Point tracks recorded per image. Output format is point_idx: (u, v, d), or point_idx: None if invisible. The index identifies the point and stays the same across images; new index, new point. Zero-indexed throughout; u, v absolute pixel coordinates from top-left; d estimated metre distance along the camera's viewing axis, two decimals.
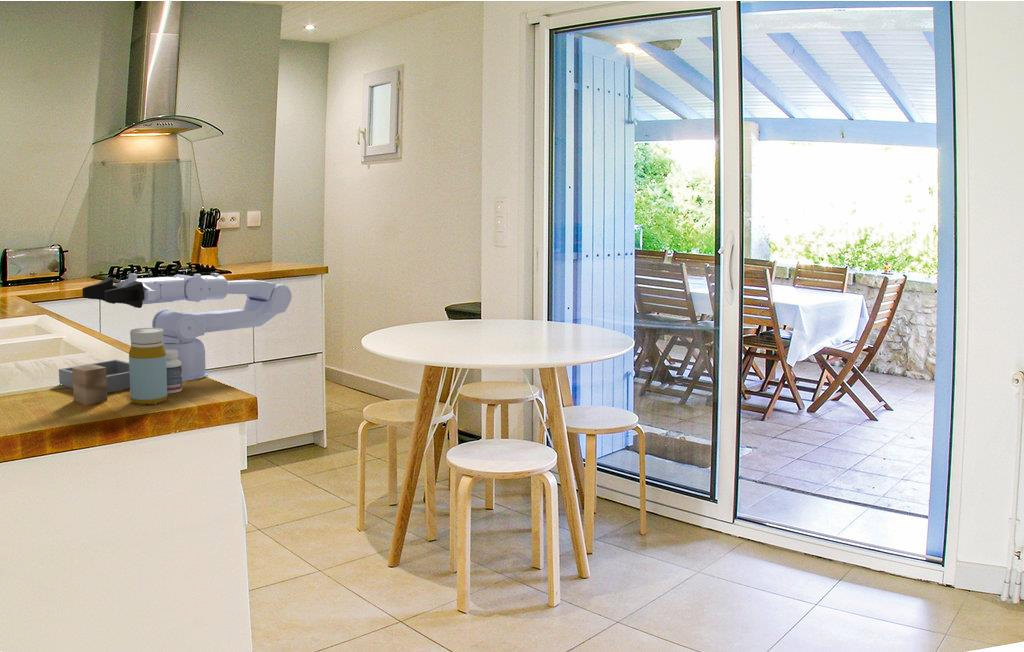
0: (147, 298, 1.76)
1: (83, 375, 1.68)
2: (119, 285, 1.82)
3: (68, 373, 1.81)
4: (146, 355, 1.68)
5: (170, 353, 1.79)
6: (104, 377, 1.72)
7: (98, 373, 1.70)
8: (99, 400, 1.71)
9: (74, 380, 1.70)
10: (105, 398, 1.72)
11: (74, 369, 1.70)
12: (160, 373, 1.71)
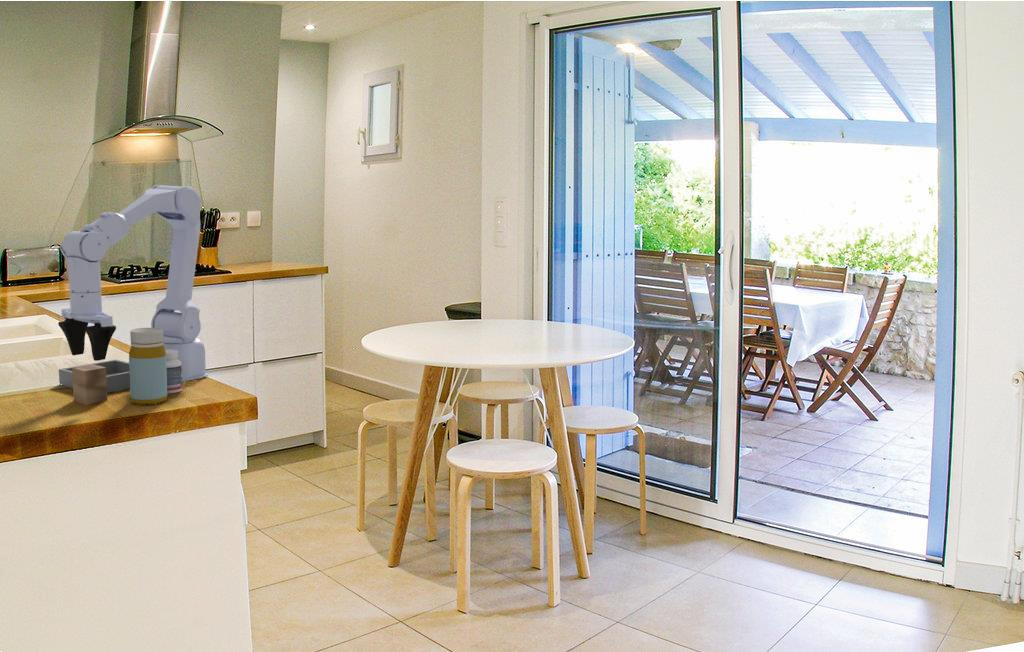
0: (110, 325, 1.66)
1: (83, 375, 1.68)
2: None
3: (68, 373, 1.81)
4: (146, 355, 1.68)
5: (170, 353, 1.79)
6: (104, 377, 1.72)
7: (98, 373, 1.70)
8: (99, 400, 1.71)
9: (73, 380, 1.70)
10: (105, 398, 1.72)
11: (74, 369, 1.70)
12: (160, 373, 1.71)
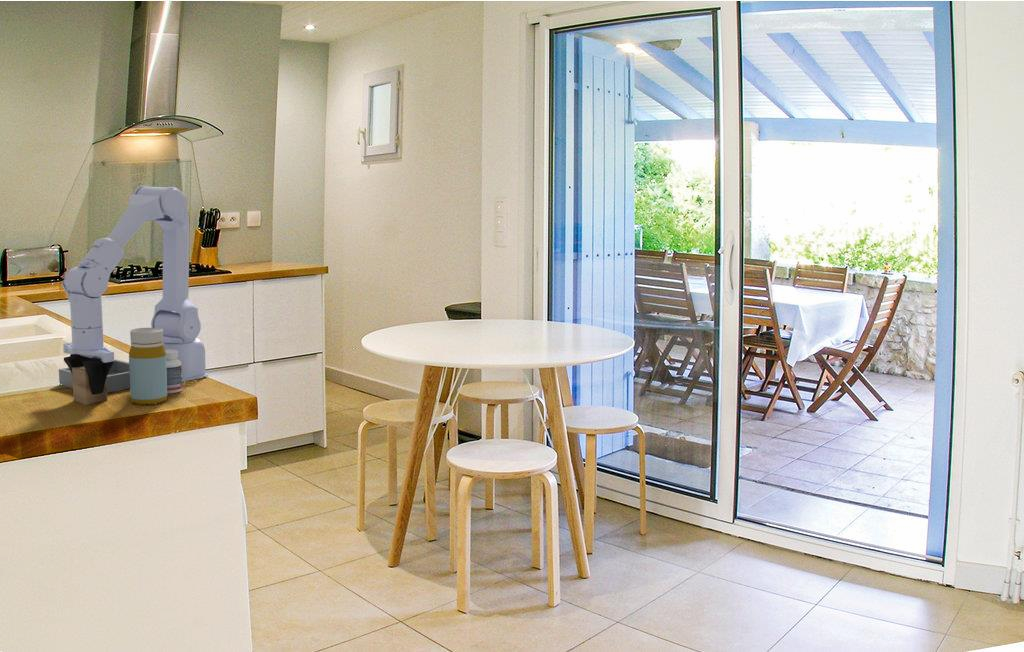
0: (112, 360, 1.67)
1: (83, 375, 1.68)
2: None
3: (68, 373, 1.81)
4: (146, 355, 1.68)
5: (170, 353, 1.79)
6: None
7: None
8: (99, 400, 1.71)
9: (73, 380, 1.70)
10: (105, 398, 1.72)
11: (74, 369, 1.70)
12: (160, 373, 1.71)
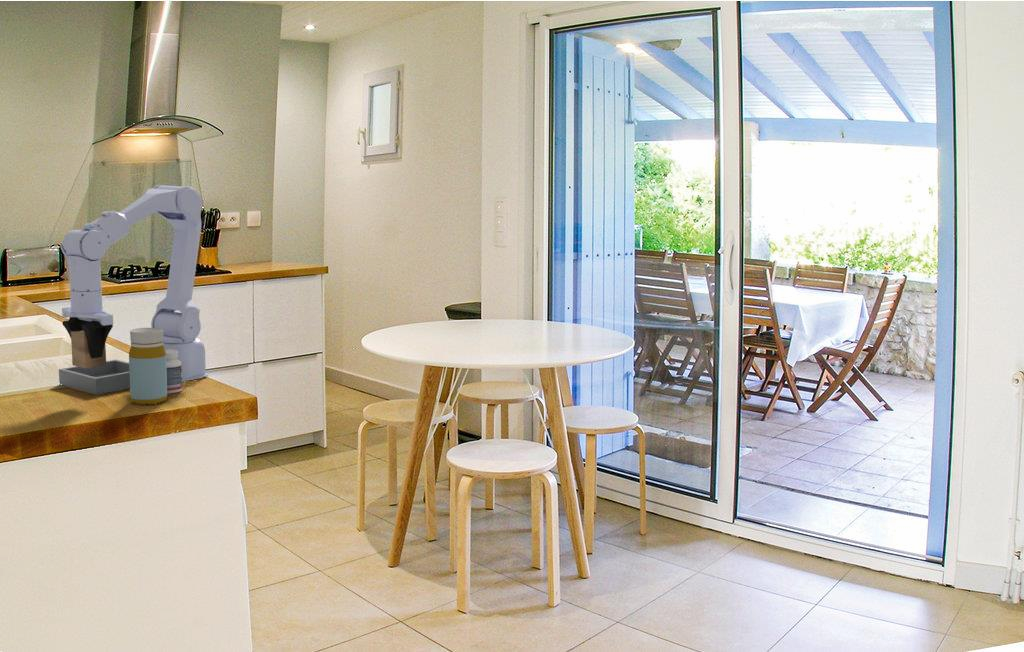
0: (111, 324, 1.66)
1: (82, 338, 1.67)
2: None
3: (68, 373, 1.81)
4: (146, 355, 1.68)
5: (170, 353, 1.79)
6: None
7: None
8: (98, 364, 1.70)
9: (72, 344, 1.69)
10: (104, 362, 1.71)
11: (73, 333, 1.69)
12: (160, 373, 1.71)
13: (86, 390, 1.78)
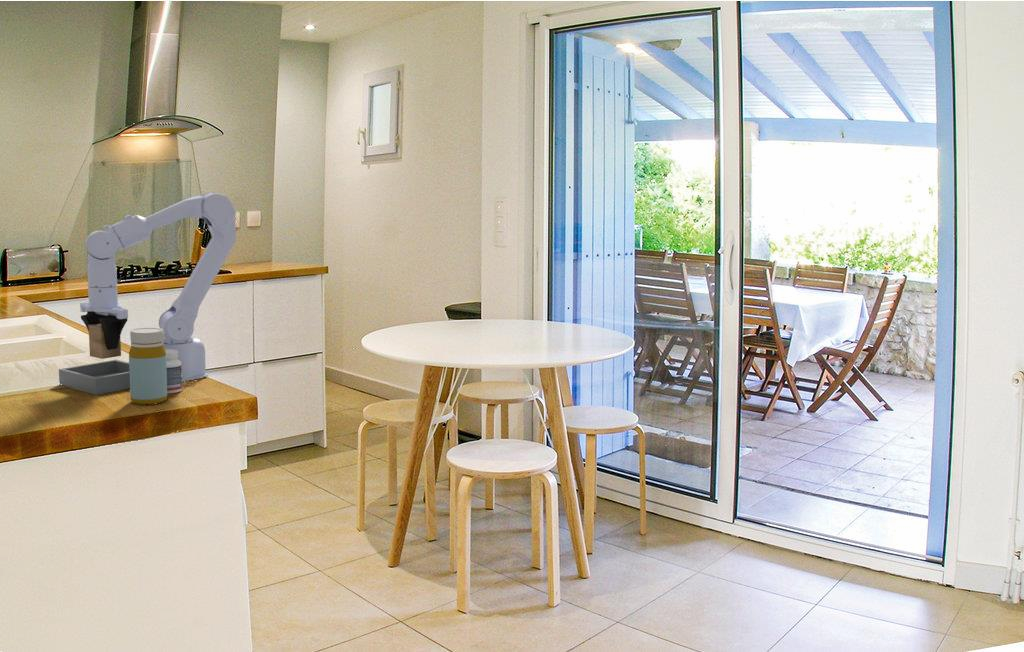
0: (126, 317, 1.80)
1: (99, 331, 1.81)
2: None
3: (68, 373, 1.81)
4: (146, 355, 1.68)
5: (170, 353, 1.79)
6: None
7: None
8: (113, 355, 1.84)
9: (90, 336, 1.83)
10: (119, 353, 1.85)
11: (90, 326, 1.82)
12: (160, 373, 1.71)
13: (86, 390, 1.78)
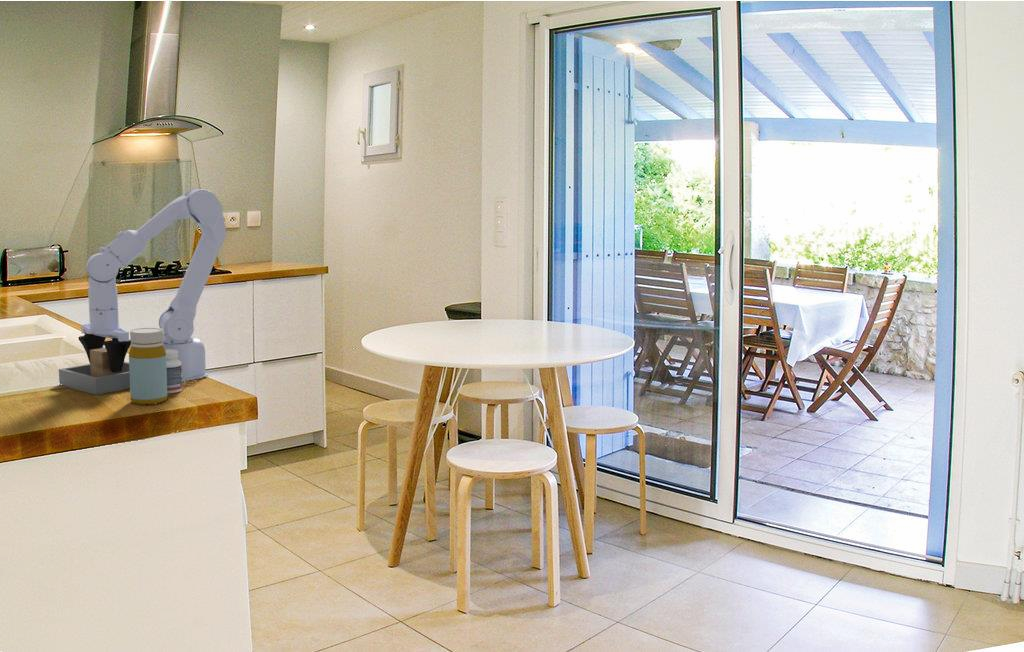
0: None
1: (100, 356, 1.82)
2: None
3: (68, 373, 1.81)
4: (146, 355, 1.68)
5: (170, 353, 1.79)
6: None
7: None
8: None
9: (91, 361, 1.84)
10: None
11: (91, 351, 1.83)
12: (160, 373, 1.71)
13: (86, 390, 1.78)
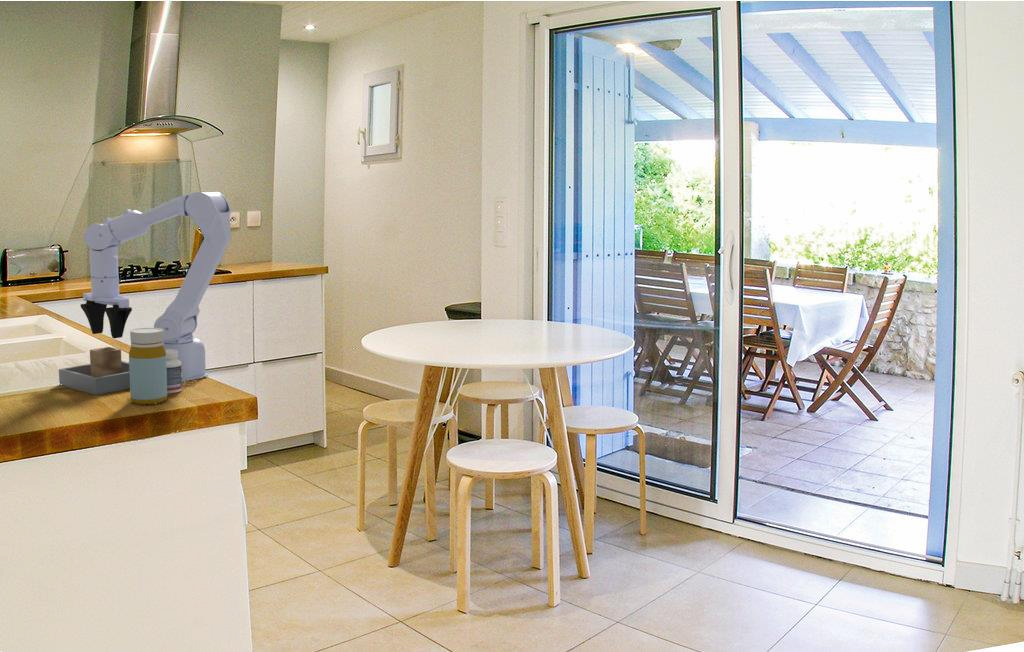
0: (127, 306, 1.87)
1: (100, 356, 1.82)
2: None
3: (68, 373, 1.81)
4: (146, 355, 1.68)
5: (170, 353, 1.79)
6: (119, 358, 1.85)
7: (114, 355, 1.84)
8: None
9: (91, 361, 1.84)
10: None
11: (91, 351, 1.83)
12: (160, 373, 1.71)
13: (86, 390, 1.78)
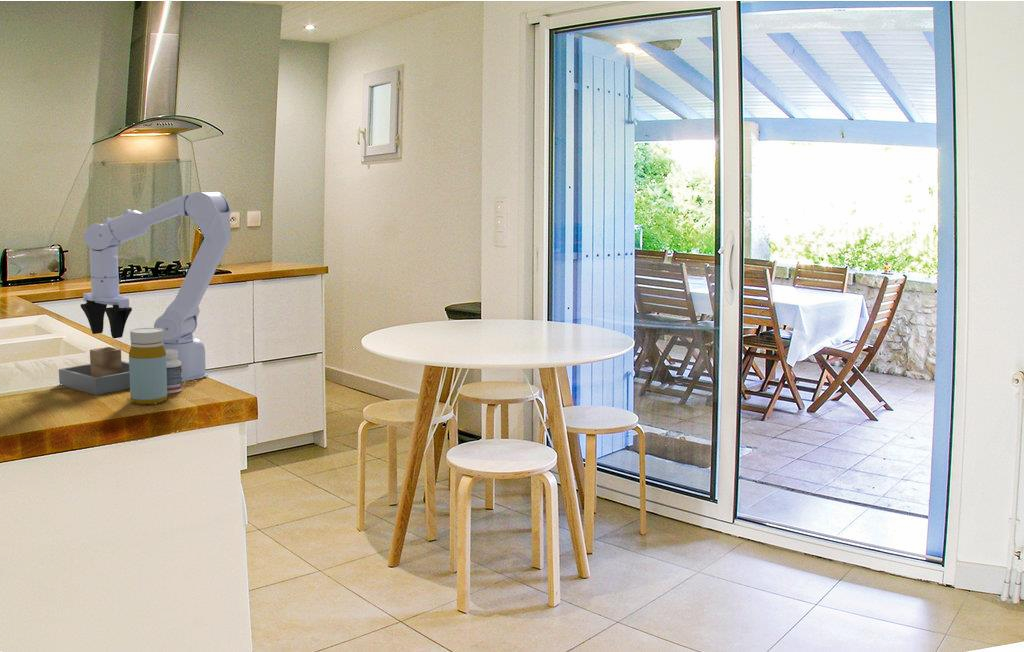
0: (127, 306, 1.87)
1: (100, 356, 1.82)
2: None
3: (68, 373, 1.81)
4: (146, 355, 1.68)
5: (170, 353, 1.79)
6: (119, 358, 1.85)
7: (114, 355, 1.84)
8: None
9: (91, 361, 1.84)
10: None
11: (91, 351, 1.83)
12: (160, 373, 1.71)
13: (86, 390, 1.78)
